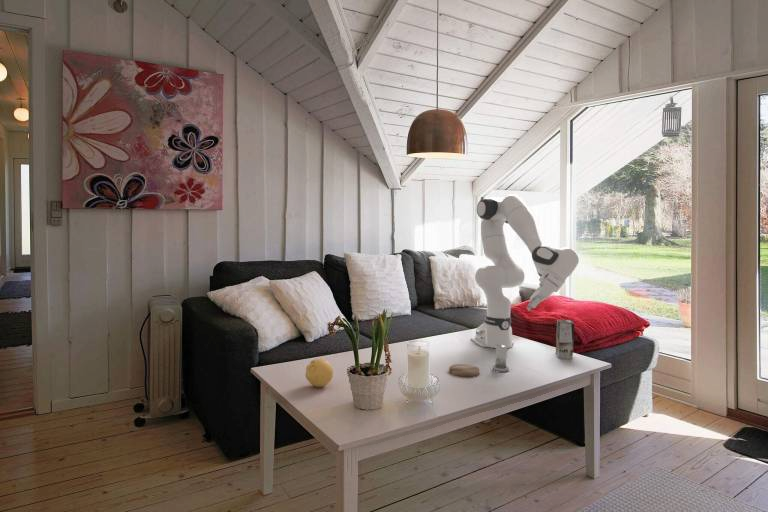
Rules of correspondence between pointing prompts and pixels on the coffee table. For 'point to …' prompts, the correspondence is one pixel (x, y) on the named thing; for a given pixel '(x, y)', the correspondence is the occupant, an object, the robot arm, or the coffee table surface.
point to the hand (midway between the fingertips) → (530, 308)
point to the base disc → (464, 370)
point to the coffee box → (565, 338)
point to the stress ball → (319, 372)
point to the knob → (501, 359)
